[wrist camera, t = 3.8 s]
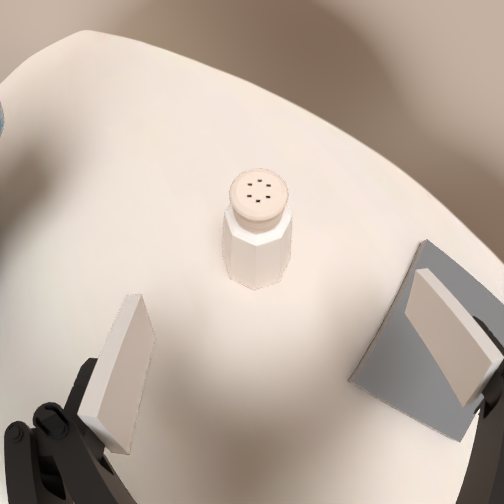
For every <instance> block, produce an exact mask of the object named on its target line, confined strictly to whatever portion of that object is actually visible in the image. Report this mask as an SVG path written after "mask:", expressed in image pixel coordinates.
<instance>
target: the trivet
mask: <svg viewBox="0 0 504 504" xmlns="http://www.w3.org/2000/svg"><path fill="white" fill-rule="evenodd" d="M424 268H428V269H429V270H430V271H431V272H432V273H433V274H434V275H435V276H436V277H437V278H438V279H439V281H440V282H441V283H442V284H443V285H444V286H445V287H446V288H447V289H448V290H449V291H450V292H451V294H452V295H453V296H454V297H455V298H456V299H457V300H458V301H459V302H460V304H461V305H462V306H463V307H464V308H465V309H466V310H467V312H468V313H469V314H470V315H471V316H475V317H477V318H478V319H480V320H481V321H483V322H484V324H485V325H486V326H487V327H488V328H489V331H491V332H492V333H493V334H494V336H495V337H496V338H497V339H498V341H499V342H500V343H501V344H502V346H503V347H504V305H503V304H502V303H501V302H500V301H499V300H498V299H497V298H496V297H495V296H494V295H493V294H492V293H491V292H490V291H488V290H487V289H486V288H485V287H484V286H483V285H482V284H481V283H480V282H478V281H477V280H476V279H475V278H474V277H473V276H472V275H470V274H469V273H468V272H467V271H466V270H464V269H463V268H462V267H461V266H460V265H459V264H457V263H456V262H455V261H454V260H452V259H451V258H450V257H449V256H448V255H446V254H445V253H444V252H443V251H441V250H440V249H439V248H438V247H436V246H435V245H434V244H432V243H431V242H430V241H429V240H427V239H426V240H425V241H423V242H422V243H420V246H419V248H418V250H417V253H416V255H415V257H414V260H413V262H412V264H411V266H410V269H409V271H408V273H407V275H406V277H405V280H404V282H403V284H402V286H401V288H400V290H399V292H398V294H397V296H396V298H395V300H394V302H393V304H392V306H391V308H390V310H389V312H388V314H387V316H386V318H385V320H384V321H383V323H382V325H381V327H380V329H379V331H378V332H377V334H376V336H375V338H374V340H373V341H372V343H371V345H370V346H369V348H368V350H367V352H366V353H365V355H364V357H363V358H362V360H361V362H360V363H359V365H358V366H357V368H356V370H355V371H354V373H353V374H352V376H351V378H350V379H349V382H351V383H353V384H354V385H356V386H358V387H359V388H361V389H363V390H364V391H366V392H368V393H369V394H371V395H373V396H374V397H376V398H378V399H380V400H381V401H383V402H385V403H386V404H388V405H390V406H392V407H393V408H395V409H397V410H399V411H401V412H402V413H404V414H406V415H408V416H409V417H411V418H413V419H415V420H417V421H419V422H420V423H422V424H424V425H426V426H428V427H430V428H432V429H433V430H435V431H437V432H439V433H441V434H443V435H445V436H447V437H449V438H451V439H453V440H455V441H458V442H461V440H462V438H463V437H464V435H465V433H466V431H467V429H468V428H469V426H470V424H471V422H472V420H473V418H474V416H475V414H473V413H474V411H475V409H476V408H477V406H478V405H479V404H480V402H481V401H482V400H483V398H484V396H483V394H482V393H481V394H480V396H479V397H478V398H477V400H476V401H475V402H473V403H471V404H469V405H467V406H465V407H462V405H461V403H460V402H459V400H458V398H457V396H456V394H455V393H454V391H453V389H452V387H451V386H450V384H449V382H448V381H447V379H446V377H445V376H444V374H443V372H442V371H441V369H440V367H439V366H438V364H437V362H436V361H435V359H434V357H433V356H432V354H431V353H430V351H429V350H428V348H427V346H426V345H425V343H424V342H423V340H422V339H421V337H420V336H419V334H418V332H417V331H416V329H415V328H414V326H413V325H412V323H411V322H410V320H409V319H408V318H407V316H406V315H405V310H406V307H407V303H408V299H409V296H410V292H411V288H412V284H413V280H414V275H415V271H416V270H417V269H424Z"/></svg>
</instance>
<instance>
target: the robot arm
mask: <svg viewBox="0 0 504 504" xmlns="http://www.w3.org/2000/svg"><path fill="white" fill-rule="evenodd" d="M3 127H4V114H3V109H2V106H1V103H0V136H1V134H2V131H3ZM405 315H406V316H407V318H408V319H409V320H410V322H411V323H412V325H413V326H414V328H415V329H416V331H417V332H418V334H419V336H420V337H421V339H422V340H423V342H424V343H425V345H426V346H427V348H428V350H429V351H430V353H431V354H432V356H433V357H434V359H435V361H436V362H437V364H438V366H439V367H440V369H441V371H442V372H443V374H444V376H445V377H446V379H447V381H448V382H449V384H450V386H451V387H452V389H453V391H454V393H455V394H456V396H457V398H458V400H459V402H460V403H461V405H462V407H465V406H467V405H469V404H471V403H473V402H475V401H476V400H477V398H478V397H479V396H480V394H481V393H482V394H483V396H484V398H483V400H482V401H481V402H480V404H479V405H478V406H477V408H476V409H475V411H474V413H473V414H476V412H477V411H478V410H479V409H480V412H479V414H478V415H479V419H478V425H477V430H476V435H475V439H474V444H473V448H472V452H471V456H470V460H469V464H468V467H467V471H466V474H465V477H464V481H463V484H462V487H461V490H460V493H459V496H458V498H457V501H456V504H504V347H503V346H502V344H501V343H500V342H499V341H498V339H497V338H496V337H495V336H494V334H493V333H492V332H491V331H489V328H488V327H487V326H486V325H485V324H484V322H483V321H481V320H480V319H478V318H477V317H475V316H471V315H470V314H469V313H468V312H467V310H466V309H465V308H464V307H463V306H462V305H461V304H460V302H459V301H458V300H457V299H456V298H455V297H454V296H453V295H452V294H451V292H450V291H449V290H448V289H447V288H446V287H445V286H444V285H443V284H442V283H441V282H440V281H439V279H438V278H437V277H436V276H435V275H434V274H433V273H432V272H431V271H430V270H429V269H428V268H424V269H417V270H416V271H415V275H414V280H413V284H412V288H411V292H410V296H409V299H408V303H407V307H406V310H405ZM155 341H156V337H155V334H154V331H153V328H152V325H151V322H150V319H149V316H148V313H147V310H146V307H145V304H144V300H143V297H142V294H137V295H126V298H125V300H124V302H123V304H122V306H121V308H120V310H119V312H118V315H117V317H116V319H115V321H114V323H113V326H112V328H111V330H110V332H109V335H108V337H107V339H106V341H105V344H104V346H103V348H102V351H101V353H100V356H99V358H89V359H88V360H87V361H86V362H85V363H84V364H83V365H82V366H81V368H80V371H79V373H78V375H77V379H76V380H75V382H74V387H72V390H71V392H70V395H69V397H68V400H67V402H66V405H65V407H64V410H63V409H62V408H61V406H60V405H58V404H56V403H53V402H48V403H45V404H43V405H41V406H40V407H38V409H37V410H36V411H35V413H34V416H33V425H34V426H35V427H36V428H31V429H30V428H29V427H28V426H27V425H26V424H25V423H24V422H22V421H15V422H13V423H11V424H10V425H9V426H8V427H7V429H6V431H5V435H4V456H5V474H6V486H7V494H8V502H9V504H137V503H136V502H135V501H134V499H133V498H132V496H131V495H130V493H129V492H128V491H127V489H126V488H125V486H124V485H123V483H122V482H121V480H120V479H119V477H118V475H117V474H116V472H115V471H114V469H113V467H112V466H111V464H110V462H109V461H108V459H107V457H106V456H105V455H104V454H103V452H104V448H105V446H106V447H107V448H108V449H109V450H110V451H111V452H113V453H119V454H126V455H129V454H130V448H131V443H132V438H133V433H134V428H135V424H136V419H137V414H138V410H139V405H140V401H141V397H142V392H143V388H144V384H145V380H146V376H147V372H148V368H149V364H150V360H151V356H152V352H153V348H154V344H155ZM73 502H74V503H73Z"/></svg>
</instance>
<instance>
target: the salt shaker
mask: <svg viewBox="0 0 504 504" xmlns="http://www.w3.org/2000/svg"><path fill="white" fill-rule="evenodd" d="M288 196H289V194H288V188H287V186H286V184H285V182H284V181H283V179H282V178H281V177H280V176H279V175H277V174H276V173H274V172H272V171H269V170H266V169H251V170H248V171H245V172H243V173H241V174H240V175H239V176H237V177H236V178H235V179H234V181H233V183H232V184H231V187H230V191H229V199H230V204H229V205H228V207H227V209H226V211H225V212H224V223H223V257H224V260H225V263H226V266H227V270H228V273H229V276H230V279H232V280H234V281H236V282H238V283H240V284H242V285H244V286H246V287H248V288H250V289H252V290H257V289H260V288H263V287H266V286H269V285H272V284H275V283H278V282H280V280H281V278H282V276H283V273H284V271H285V269H286V267H287V265H288V263H289V261H290V255H291V236H292V215H291V213H290V211H289V208H288V206H287V202H288Z"/></svg>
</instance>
